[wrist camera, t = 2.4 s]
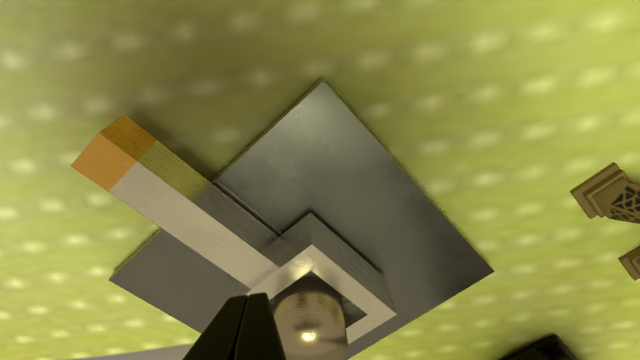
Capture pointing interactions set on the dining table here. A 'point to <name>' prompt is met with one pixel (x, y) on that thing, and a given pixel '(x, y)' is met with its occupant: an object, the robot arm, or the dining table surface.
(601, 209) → the eiffel tower
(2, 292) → the dining table surface
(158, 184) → the square nut with handle
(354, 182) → the post base
